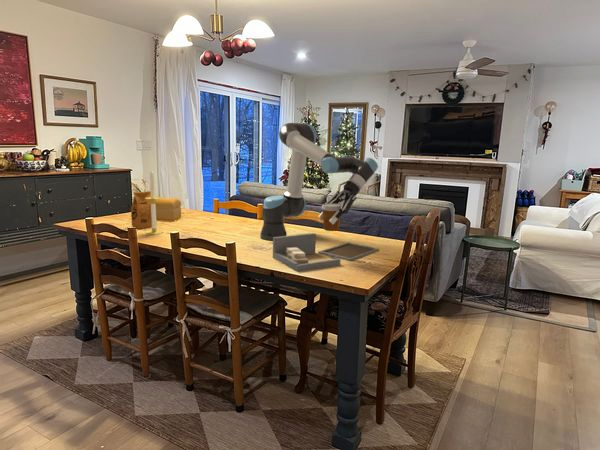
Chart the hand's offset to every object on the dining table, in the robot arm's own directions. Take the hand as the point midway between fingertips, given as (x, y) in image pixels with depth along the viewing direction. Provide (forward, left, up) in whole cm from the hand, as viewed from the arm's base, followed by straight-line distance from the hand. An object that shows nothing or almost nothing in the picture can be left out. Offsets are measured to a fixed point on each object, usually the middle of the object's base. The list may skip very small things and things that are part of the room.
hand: (325, 220), depth 197 cm
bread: (-128, -48, -19) cm, 138 cm away
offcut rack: (0, -10, -18) cm, 21 cm away
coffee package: (-105, -64, -19) cm, 124 cm away
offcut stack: (0, -16, -19) cm, 24 cm away
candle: (-87, -61, -19) cm, 108 cm away
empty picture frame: (-4, +17, -19) cm, 26 cm away
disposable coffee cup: (0, +3, -5) cm, 6 cm away
